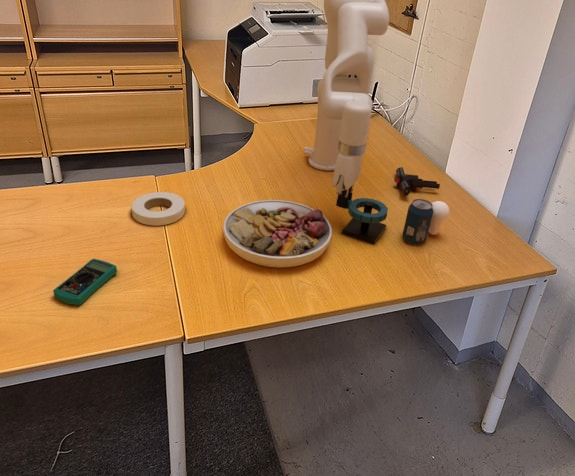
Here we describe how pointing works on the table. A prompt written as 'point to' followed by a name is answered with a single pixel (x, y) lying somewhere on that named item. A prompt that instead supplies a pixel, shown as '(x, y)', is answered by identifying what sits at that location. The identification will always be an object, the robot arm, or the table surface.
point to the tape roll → (158, 217)
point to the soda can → (418, 221)
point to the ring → (367, 217)
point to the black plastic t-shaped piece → (412, 182)
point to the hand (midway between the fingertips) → (343, 204)
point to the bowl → (277, 233)
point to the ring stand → (364, 227)
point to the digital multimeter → (85, 282)
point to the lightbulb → (438, 216)
